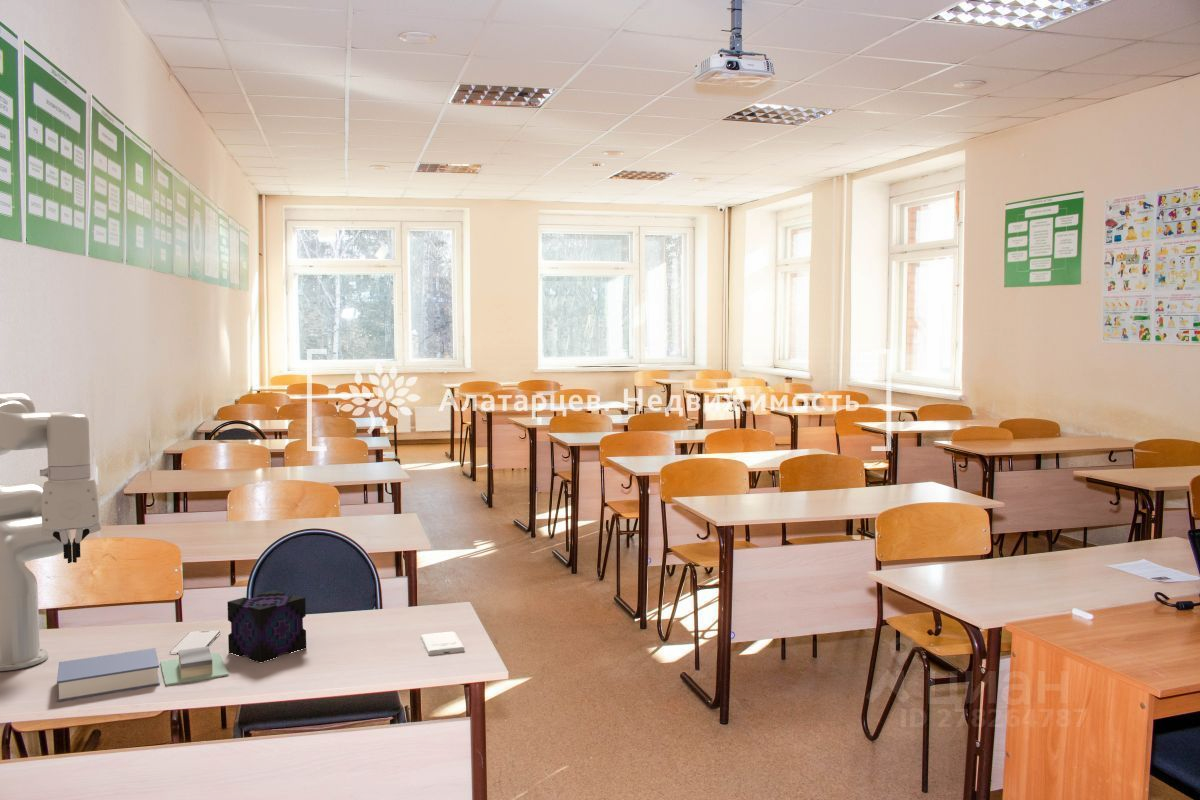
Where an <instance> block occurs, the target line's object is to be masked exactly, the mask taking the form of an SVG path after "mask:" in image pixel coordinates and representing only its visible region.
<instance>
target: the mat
mask: <svg viewBox="0 0 1200 800" xmlns="http://www.w3.org/2000/svg"><path fill="white" fill-rule="evenodd" d="M211 657H212V671H213V674H207V675H200V676H194V677H187V678H181V673H180V667H179V658H175V659H174V658H173V659H167V660H162V661H160V663H161V664H160V667H161V671H162V676H163V681H164V685H165V687H168V686H175V685H180V684H181V685H182V684H188V683H193V682H198V681H206V680H211V679H210V678H212V679H216V678H215V677H218V678H221V677H220V676H224V677H227V676H226V675H229V672H228V670H227V667H226V664H225V663H224V659H222V656H221V654H220V652H214V653H211Z"/></svg>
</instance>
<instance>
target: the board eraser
mask: <svg viewBox="0 0 1200 800" xmlns="http://www.w3.org/2000/svg"><path fill="white" fill-rule="evenodd" d="M209 646H210V645H209ZM209 646H207V647H200V648H193V649H186V650H179V654H178V659H179V667H180V673H181V678H187V677H194V676H200V675H207V674H213V671H212V657H211V654H212V653H211V651H210V647H209Z"/></svg>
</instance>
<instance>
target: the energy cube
mask: <svg viewBox="0 0 1200 800" xmlns="http://www.w3.org/2000/svg"><path fill="white" fill-rule="evenodd" d="M226 603H227V621H228V622H230V631H231V632H230V633H229V634H228V640H227V642H228V654H229V653H233V654H236V655H239V656H242V657H245V656H246V657H248V660H249V659H251V660H250V661H252V660H254V661H253V662H255V661H258V662H257V663H259V662H263V663H265V662H264V661H266V662H268V661H267V660H269V661H271V660H270V659H272V660H274V659H273V658H276V657H278V658H279V655H282V654H283V655H284V654H286V653H287V652H288V654H290V653H291V652H294V651H297V650H300V651H302V650H301V649H303V650H305V649H304V648H306V649H307V630H306V629H305V628H304V622H303V620H304V618H306V614H307V613H306V609H307V607H306V606H307V605H306V597H305V596H300V595H295V594H291V595H290V596H287V595H285V592H283V591H277V590H274V589H273V590H269V591H265V592H260V593H257V594H256V596H255V597H251V598H247V597H240V598H237V599H232V600H228V601H227V602H226ZM297 652H298V651H297ZM294 653H295V652H294ZM291 654H292V653H291ZM236 655H235V656H236ZM243 655H244V656H243ZM239 656H238V657H239ZM276 659H277V658H276Z"/></svg>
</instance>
